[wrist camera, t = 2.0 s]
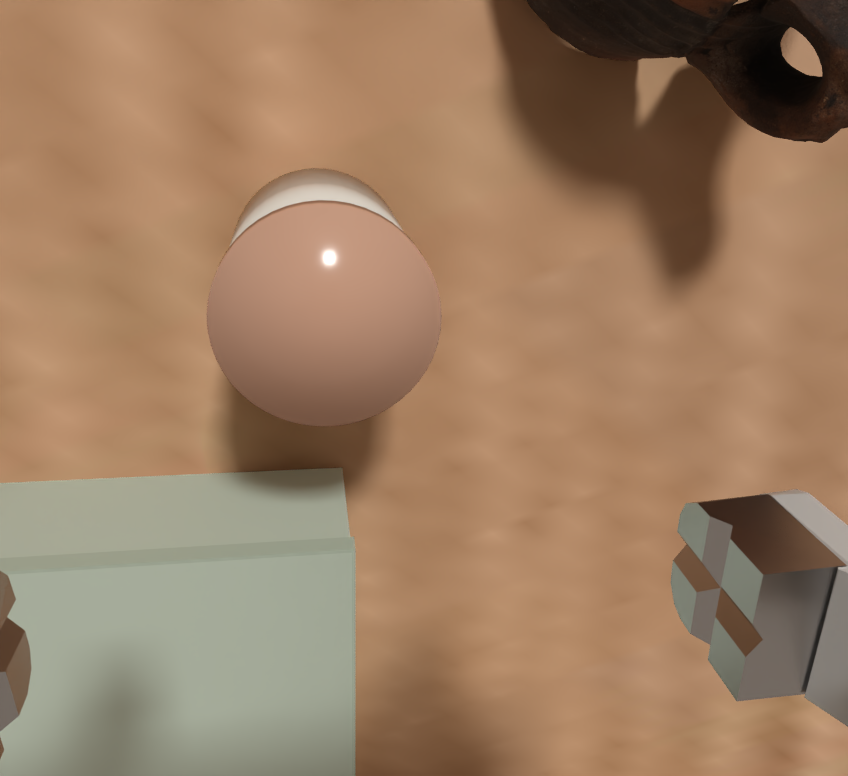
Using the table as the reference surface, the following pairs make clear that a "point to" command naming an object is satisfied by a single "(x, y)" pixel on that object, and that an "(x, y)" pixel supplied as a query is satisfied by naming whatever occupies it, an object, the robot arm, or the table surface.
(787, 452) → the table surface
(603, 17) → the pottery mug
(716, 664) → the robot arm
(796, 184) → the table surface
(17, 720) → the sage box
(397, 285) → the pink capped tube
